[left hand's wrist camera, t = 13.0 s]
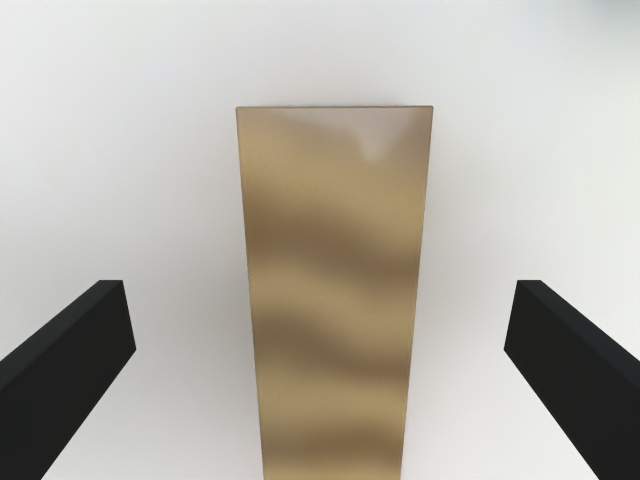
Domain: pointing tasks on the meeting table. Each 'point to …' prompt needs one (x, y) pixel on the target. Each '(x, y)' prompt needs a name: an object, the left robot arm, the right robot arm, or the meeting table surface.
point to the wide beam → (333, 281)
